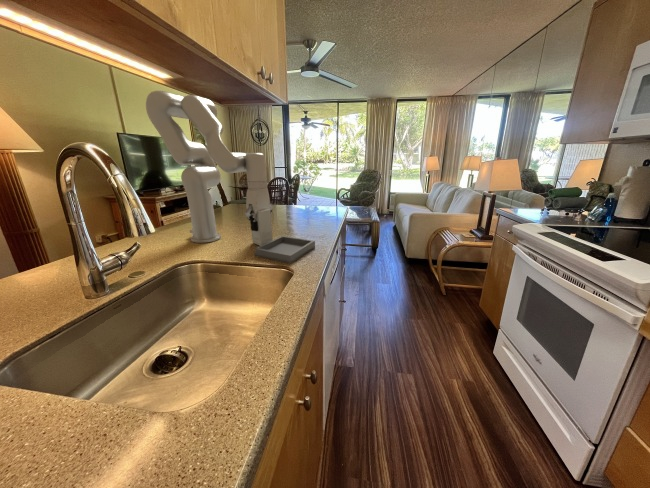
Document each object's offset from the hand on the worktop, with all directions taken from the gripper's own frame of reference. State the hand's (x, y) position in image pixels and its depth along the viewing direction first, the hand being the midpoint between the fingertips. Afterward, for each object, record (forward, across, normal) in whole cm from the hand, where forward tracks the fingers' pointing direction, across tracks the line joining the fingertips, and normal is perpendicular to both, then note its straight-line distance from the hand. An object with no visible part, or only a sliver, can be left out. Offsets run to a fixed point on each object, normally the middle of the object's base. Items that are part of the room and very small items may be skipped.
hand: (261, 227), depth 111 cm
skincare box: (+7, 0, 0) cm, 7 cm away
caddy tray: (+7, +4, +15) cm, 17 cm away
